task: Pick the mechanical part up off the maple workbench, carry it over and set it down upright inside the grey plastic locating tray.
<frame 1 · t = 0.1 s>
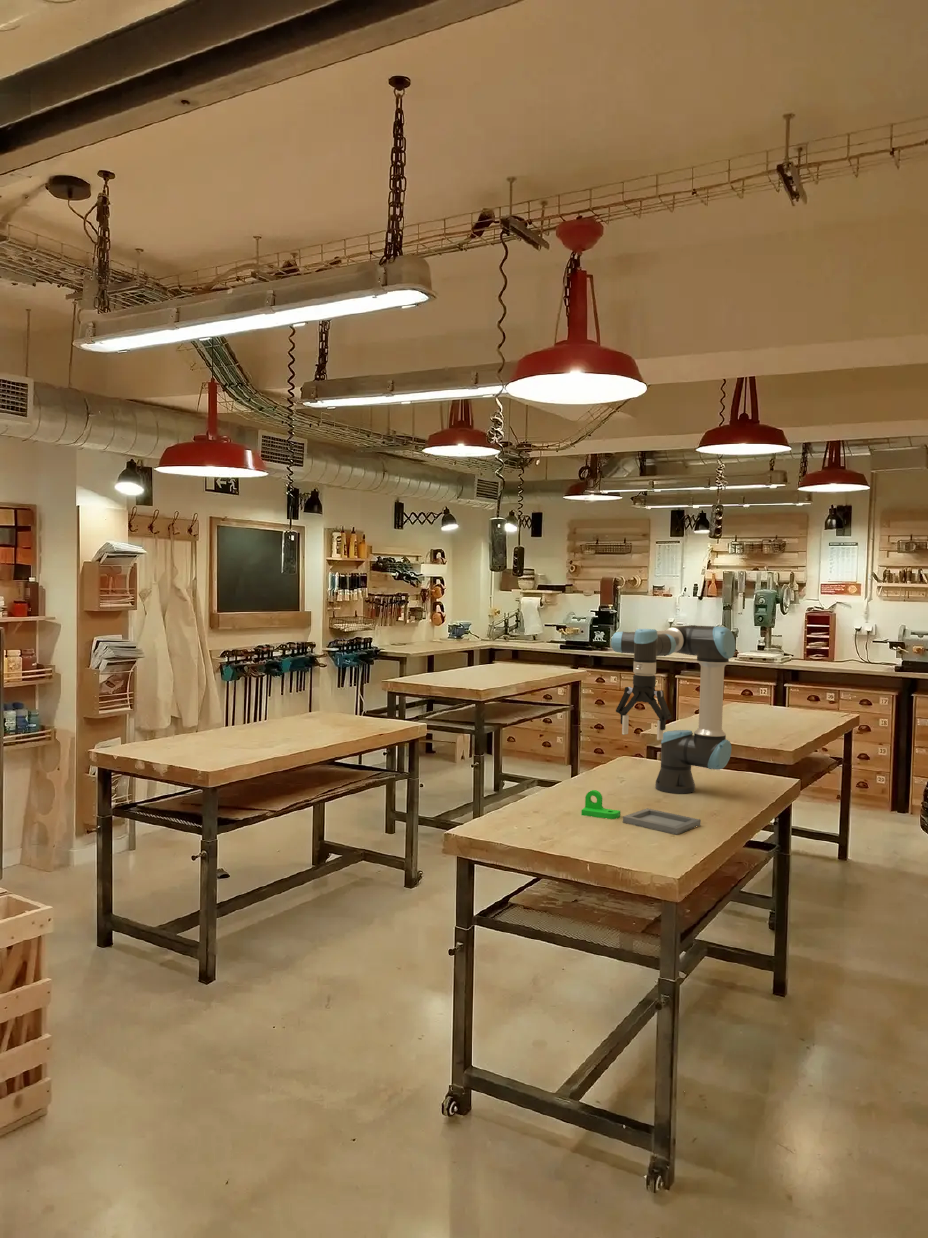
hand: (642, 737, 297), 28 cm above the table, tool pointing down, fingers open, 13 cm apart
locating tray: (661, 824, 292), on the table
mechanical part: (600, 816, 301), on the table
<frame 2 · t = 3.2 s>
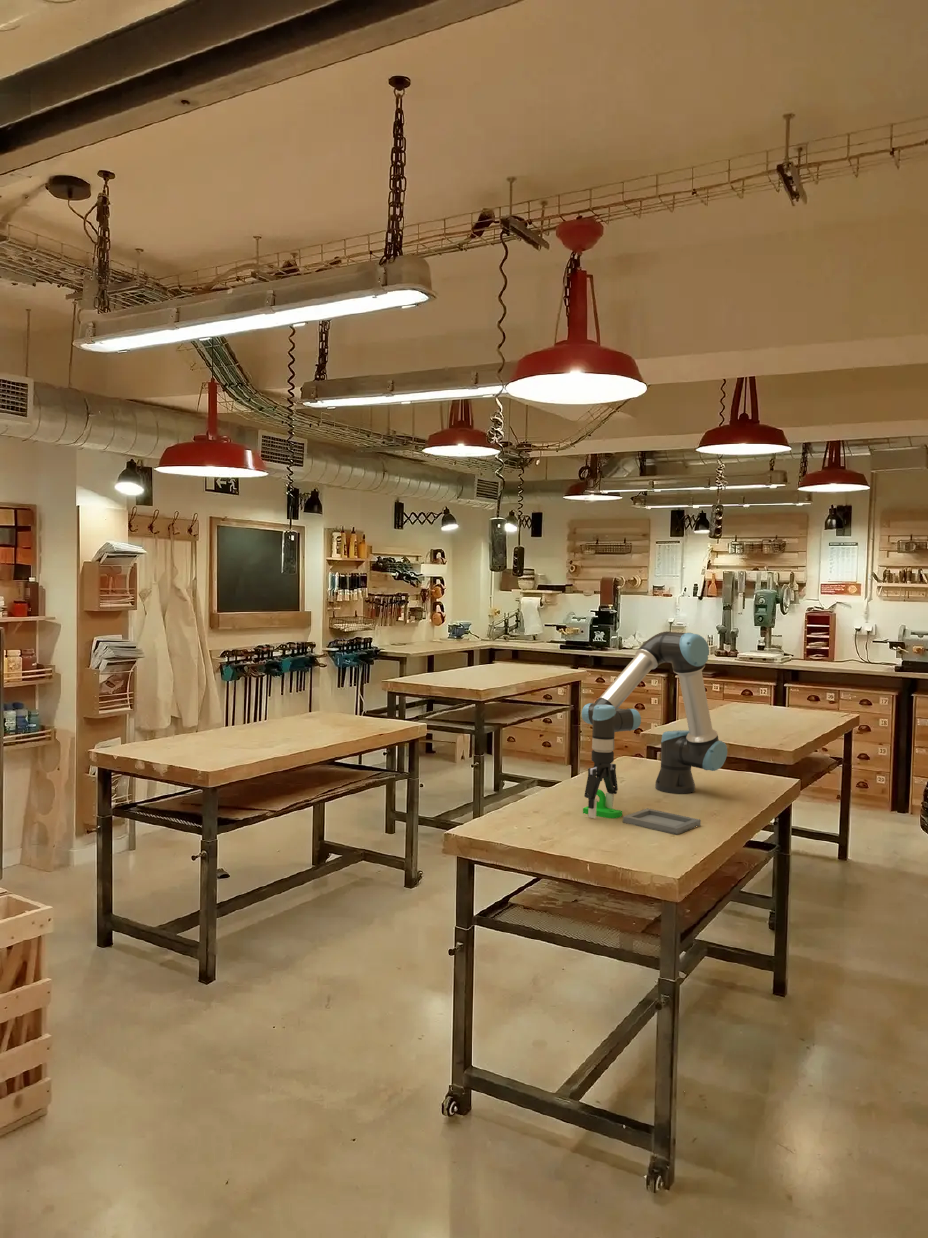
hand: (600, 814, 301), 0 cm above the table, tool pointing down, fingers open, 10 cm apart
mechanical part: (602, 815, 302), on the table, touching gripper
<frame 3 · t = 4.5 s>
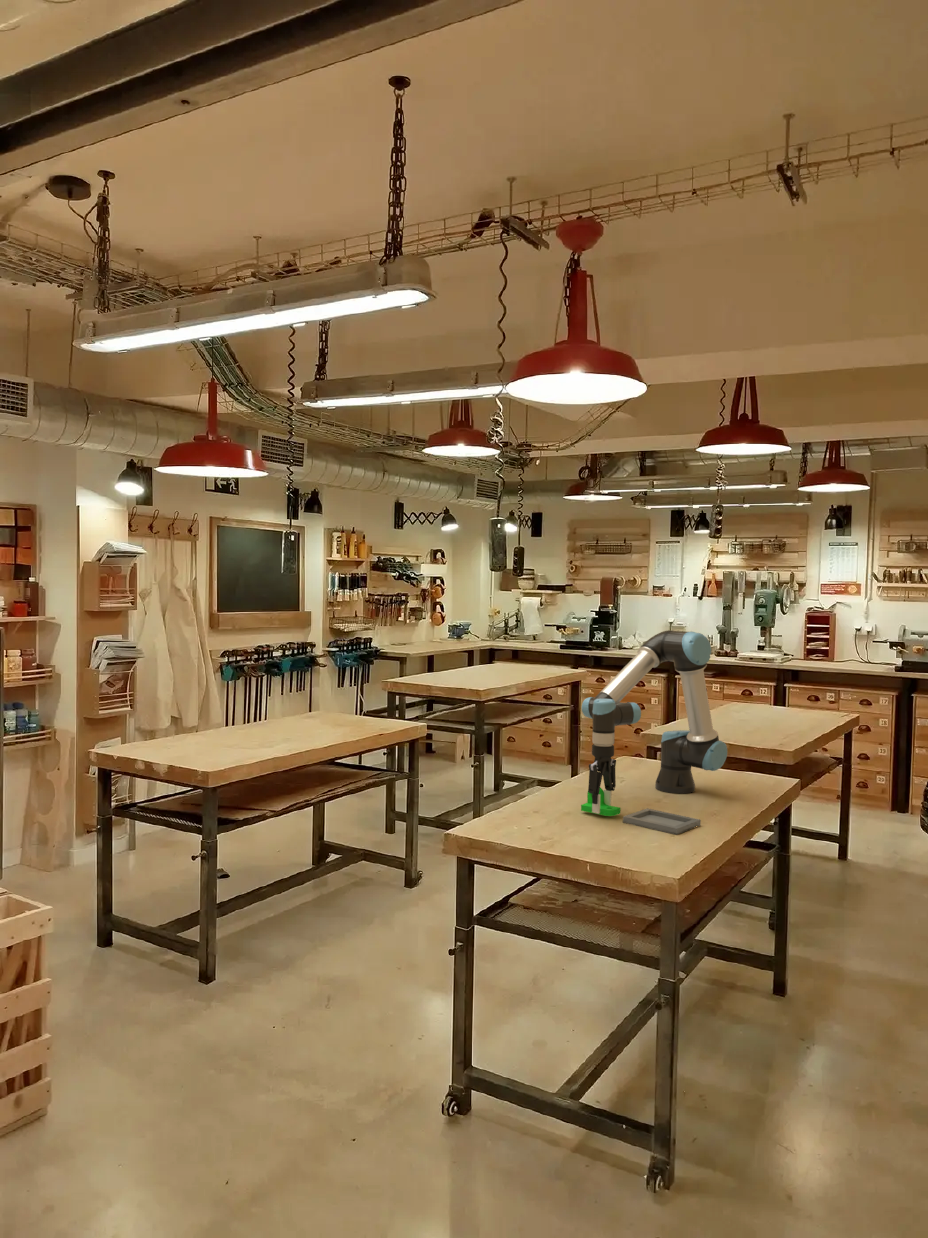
hand: (601, 811, 301), 2 cm above the table, tool pointing down, fingers closed on mechanical part, 6 cm apart
mechanical part: (600, 812, 301), point 1 cm above the table, touching gripper
when the fingers open (2 cm above the table, at t = 10.3 s): mechanical part moves 1 cm, resting on locating tray.
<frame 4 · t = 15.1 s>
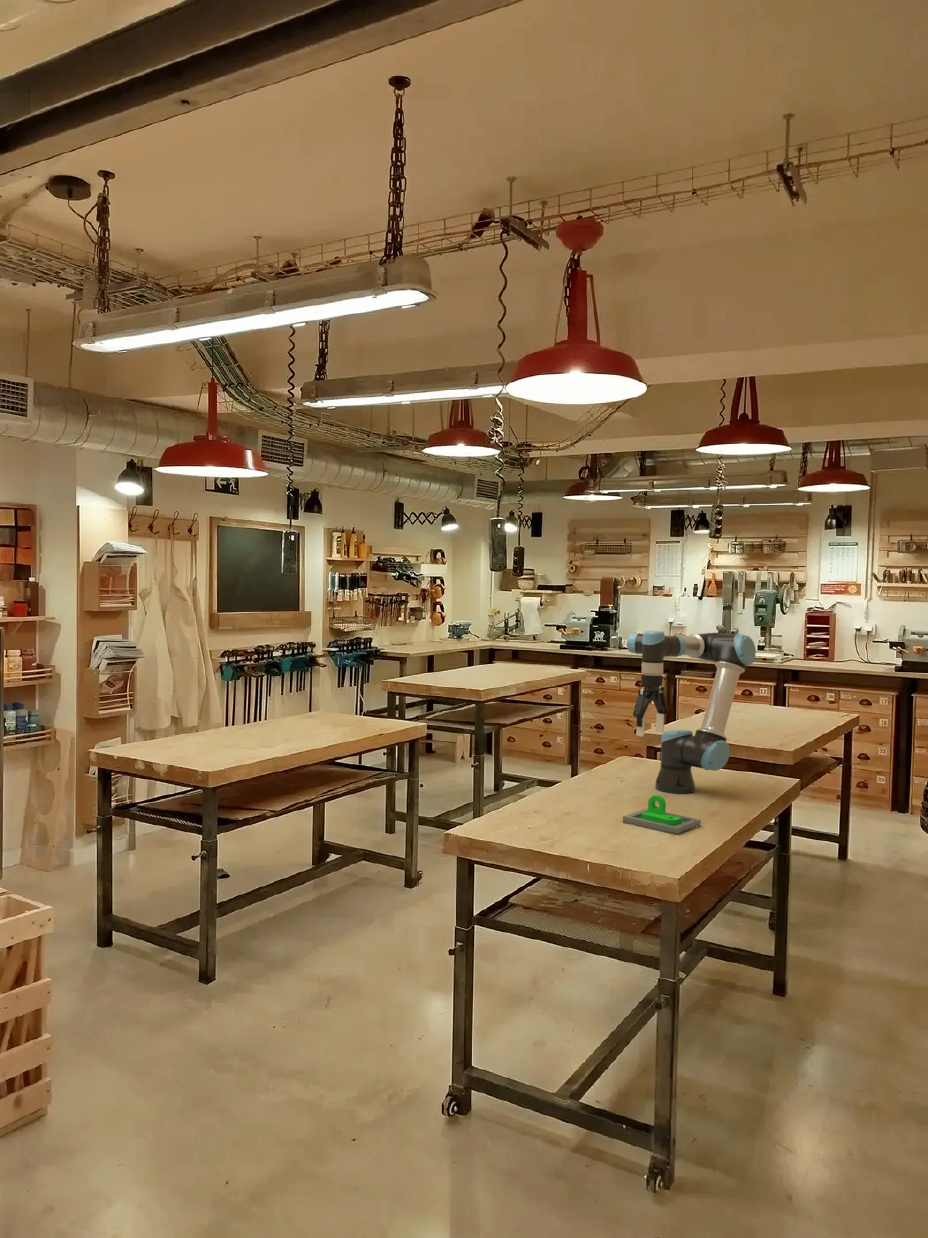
hand: (650, 734, 311), 27 cm above the table, tool pointing down, fingers open, 13 cm apart
mechanical part: (661, 822, 292), resting on locating tray
at the end: mechanical part inside the target area on the locating tray (0.8 cm from its centre), point 0.4 cm above the locating tray's base; mechanical part tilted 0°; the gripper is holding nothing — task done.
